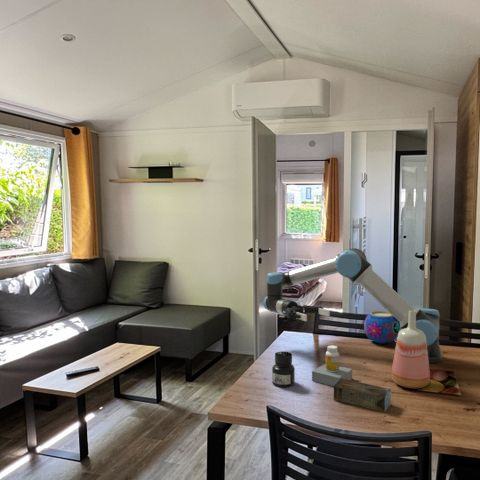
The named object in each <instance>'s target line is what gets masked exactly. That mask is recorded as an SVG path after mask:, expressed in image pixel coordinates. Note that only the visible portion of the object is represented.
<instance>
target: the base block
mask: <svg viewBox="0 0 480 480" xmlns="http://www.w3.org/2000/svg"><path fill="white" fill-rule="evenodd" d="M341 378H342V379H347V380H352V379H353V369H352V368H350V367H344V366H340V365H339V371H337V372H329V371H326V362H325V363H324V364H322V365H321V366H318V367H317V368H315V369H313V370H312V371H311V381H312V382H314V383H318V384H319V383H320V384H323V385H327V386H330V387H334V385H335V384H336V383H337V382H338V381H339V380H340V379H341Z"/></svg>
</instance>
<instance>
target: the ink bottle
mask: <svg viewBox="0 0 480 480" xmlns="http://www.w3.org/2000/svg"><path fill="white" fill-rule="evenodd" d="M292 361H293V353H292V352H290V351H282V350H281V351H277V352H275V353H274V365H273V366H272V369H271V372H272V373H271V375H272V377H271V378H272V379H271V381H272V384H273V385H274V386H277V387H280V388H288V387H292V386H294V384H295V380H296V379H295V377H296V376H295V375H296V374H295V373H296V371H295V366H294V365H293V364H292V363H293V362H292Z"/></svg>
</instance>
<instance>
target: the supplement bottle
mask: <svg viewBox="0 0 480 480" xmlns="http://www.w3.org/2000/svg"><path fill="white" fill-rule="evenodd" d="M326 348H327V349H326V352H325V363H326V371H329V372H337V371H339V366H340V353H339V352H338V346H337V345H333V344H331V345H328V346H327V347H326Z"/></svg>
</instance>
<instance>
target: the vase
mask: <svg viewBox="0 0 480 480" xmlns="http://www.w3.org/2000/svg"><path fill="white" fill-rule="evenodd" d="M393 355H394V356H393V361H392V366H391V373H390V374H391V379H392V380H393V382H394V383H395V384H397V385H399V386H400V387H402V388H406V389H422V388H425V387H426V386H428V385H429V383H430V381H431V371H430V363H429V360H428V352H427V343H426V336H425V333H424V332H423V331H421V330H419V329H417V328H416V311H414V310H409V317H408V327H407V328H404V329H402V328H401V329H400V331H399V333H398V336H397V337H396V345H395V348H394V354H393Z"/></svg>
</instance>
